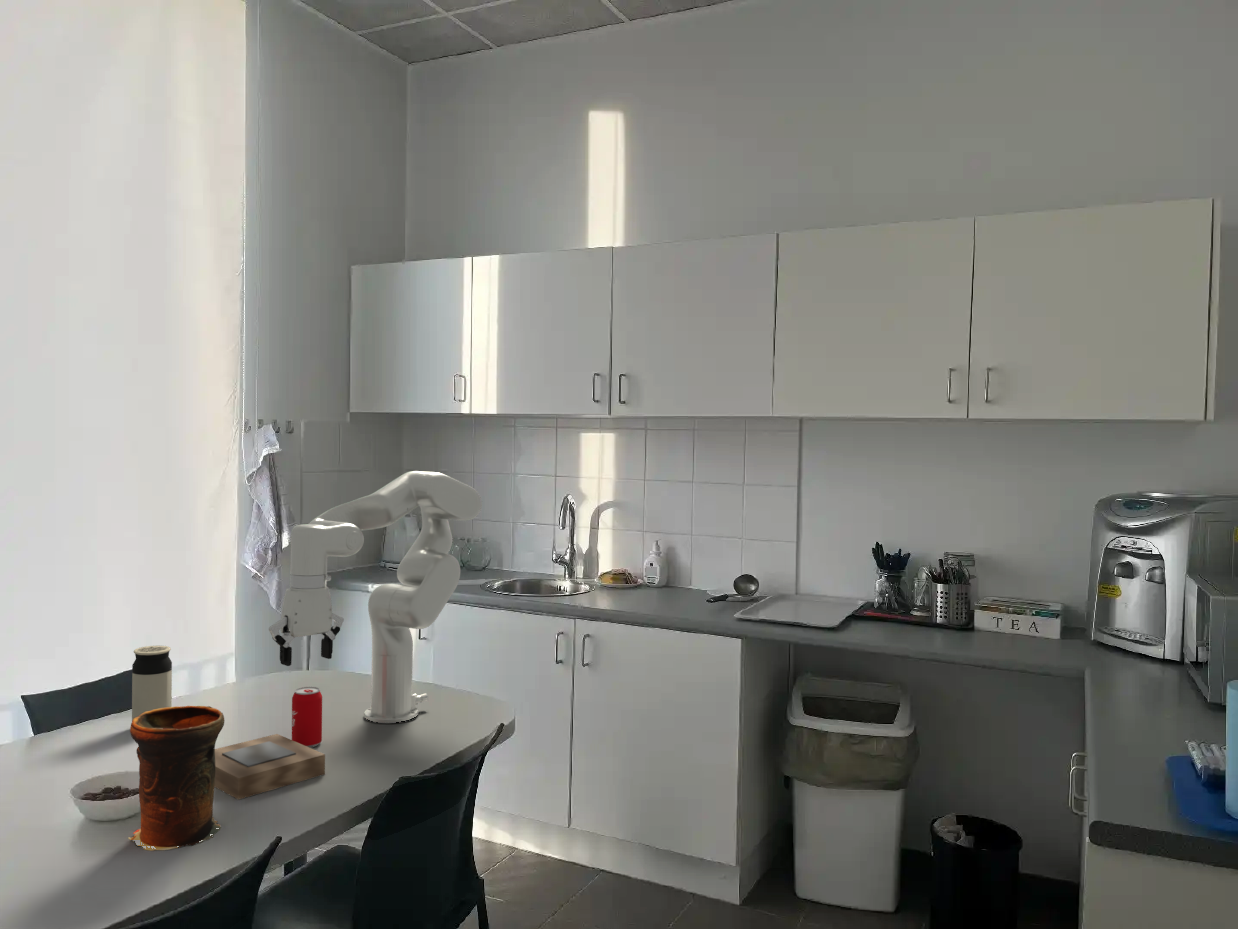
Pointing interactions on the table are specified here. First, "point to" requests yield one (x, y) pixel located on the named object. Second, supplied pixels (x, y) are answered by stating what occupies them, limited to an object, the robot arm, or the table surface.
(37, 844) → the table surface
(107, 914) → the table surface
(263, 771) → the walnut plinth
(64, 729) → the table surface
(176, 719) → the vessel
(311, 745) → the beverage can
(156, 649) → the travel mug
